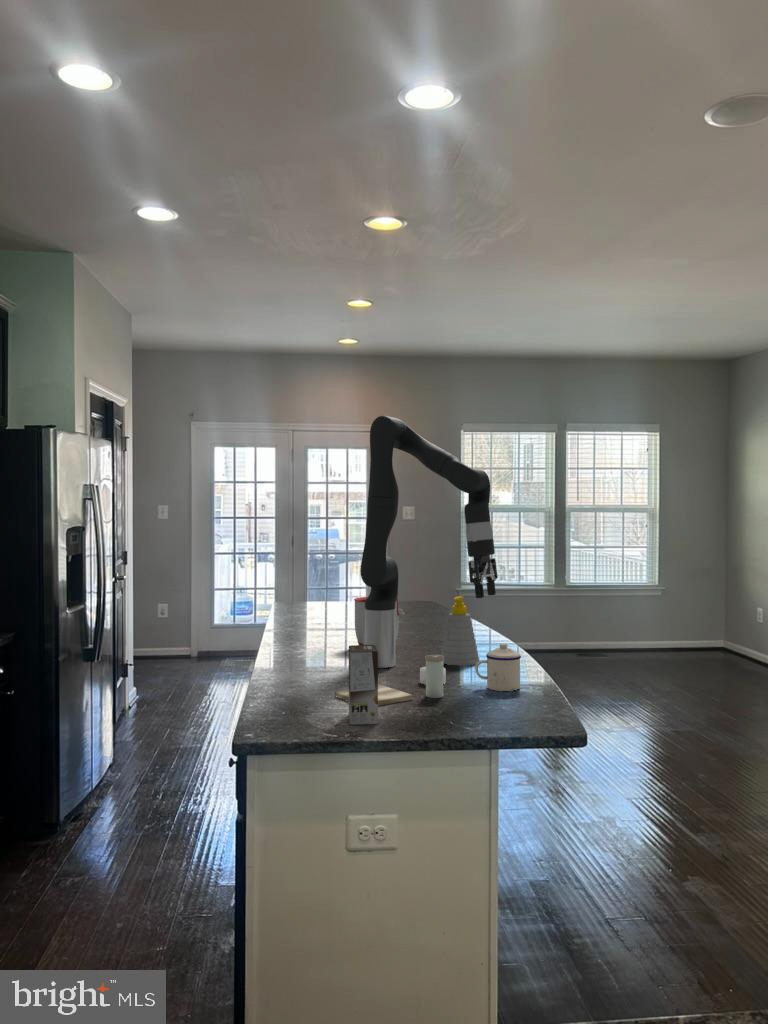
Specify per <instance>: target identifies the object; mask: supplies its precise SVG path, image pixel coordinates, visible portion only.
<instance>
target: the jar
mask: <svg viewBox="0 0 768 1024" xmlns="http://www.w3.org/2000/svg"><path fill="white" fill-rule="evenodd" d="M424 660H425V667H426V685H425V696H426V697H427V698H428V699H430V698H431V699H439V698H444V685H443V667H444V664H443V660H444V656H442V655H441V654H428V655H427V654H426V655H425V656H424Z"/></svg>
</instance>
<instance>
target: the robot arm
mask: <svg viewBox="0 0 768 1024" xmlns="http://www.w3.org/2000/svg"><path fill="white" fill-rule="evenodd" d="M394 449H397V450H399V451H403V452H404V453H407V454H409V455H411V456H413V457H414V458H415V459H417V461H419V462H420V463H421V464H422V465H423V466H424V467H426V468H427V469H429V470H430V471H432V472H433V473H435V474H436V475H438V476H440V477H441V478H443V479H445V480H447V481H448V482H449V483H450V484H451V485H453V486H454V487H455V488H456V489H458V490H459V491H461V492H463V493H466V494H468V495H467V496H468V499H467V503H466V504H465V506H464V520H465V537H466V538H465V539H466V548H467V556H468V557H469V558H473V560H468V572H469V573H468V574H469V575H468V576H469V582H470V583H471V584H473V585H474V593H475V598H476V599H483V598H484V597H485V594H484V593H485V592H484V584H483V582H484V579H485V581H486V589H487V595H488V596H495V595H496V594H497V591H496V583H495V582H496V581H497V579H498V577H499V576H498V570H497V569H498V568H497V562H496V558H495V557H493V558H491V556H493V555H495V554H496V552H495V551H496V549H495V542H494V534H493V533H494V532H493V527H492V523H491V514H490V500H491V499H490V498H491V480H490V478H489V475H488V474H487V473H486V472H485V470H482V469H478V468H472V467H470V466H468V465H466V464H465V463H463V462H462V461H461V459H460V458H458V457H457V456H456V455H453V454H452V453H450V452H448V451H447V450H445V449H443V448H441V447H440V446H438V445H436V444H434V443H432V442H430V441H428V440H427V439H425V438H424V437H422V436H421V435H420V434H419V433H417V432H416V431H414V429H412V428H411V427H410V426H409V425H408V424H406V423H405V422H404V421H403V420H401V419H400V418H398V417H395V416H394V417H393V416H388V415H380V416H377V417H376V418H375V419H374V420H373V421H372V423H371V426H370V430H369V452H370V453H369V454H370V455H369V456H370V465H369V481H368V482H369V483H368V492H367V493H368V494H367V509H366V510H367V512H366V524H365V539H364V545H363V551H362V557H361V562H360V572H359V573H360V576H361V580H362V582H363V584H365V586H367V587H370V592H369V594H368V596H366V597H367V599H366V600H365V633H364V645H375V646H376V648H377V651H378V669H386V668H388V667H389V668H393V667H395V666H396V643H395V603H396V600H397V598H398V595H399V594H398V593H399V568H398V565H397V562H396V560H395V559H394V558H393V557H391V556H388V555H387V546H388V541H389V538H390V537H389V536H390V534H391V532H392V530H393V528H394V527H393V526H394V525H395V522H396V519H397V515H398V508H399V496H400V494H399V485H398V481H397V478H396V475H395V472H394V468H393V454H394V453H393V452H394ZM389 668H388V669H389Z"/></svg>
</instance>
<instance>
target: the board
mask: <svg viewBox="0 0 768 1024" xmlns="http://www.w3.org/2000/svg"><path fill="white" fill-rule="evenodd" d="M335 696H337V697H339V698H342V699H344V700H343V701H345V700H347V701H346V702H348V701H349V689H346V690H339V691H334V697H335ZM337 697H336V698H337ZM339 698H338V699H339ZM413 698H414V697H413V694H411V693H408V692H404V691H401V690H398V689H394V688H393V687H389V686H385V685H382V684H378V707H379V706H386V705H391V704H396V703H397V704H398V703H401V702H403V703H404V702H407V701H409V702H410V701H412V700H414V699H413ZM342 699H341V700H342Z"/></svg>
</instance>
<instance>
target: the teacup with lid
mask: <svg viewBox="0 0 768 1024" xmlns="http://www.w3.org/2000/svg"><path fill="white" fill-rule="evenodd" d="M485 656H486V659H485V660H483V659H482V660H480V661H479V662H477V664H476V665H474V666H475V667H474V670H475V671H474V672H475V673H476V676H477V677H478V678H480V679H481V680H486V687H487V689H489V690H492V691H494V690H495V691H496V692H503V691H509V692H514V691H513V690H516V691H518V690H517V689H519V690H520V689H521V658H522V656H521V654H520V652H519V651H515V650H513V649H512V648H510V647H508V644H507V643H500V644H499V646H498V647H496V648H495V649H493V650H490V651H488V652H487V653H486V655H485ZM482 664H486V676H485V675H481V673H480V672H479V666H480V665H482Z"/></svg>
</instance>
